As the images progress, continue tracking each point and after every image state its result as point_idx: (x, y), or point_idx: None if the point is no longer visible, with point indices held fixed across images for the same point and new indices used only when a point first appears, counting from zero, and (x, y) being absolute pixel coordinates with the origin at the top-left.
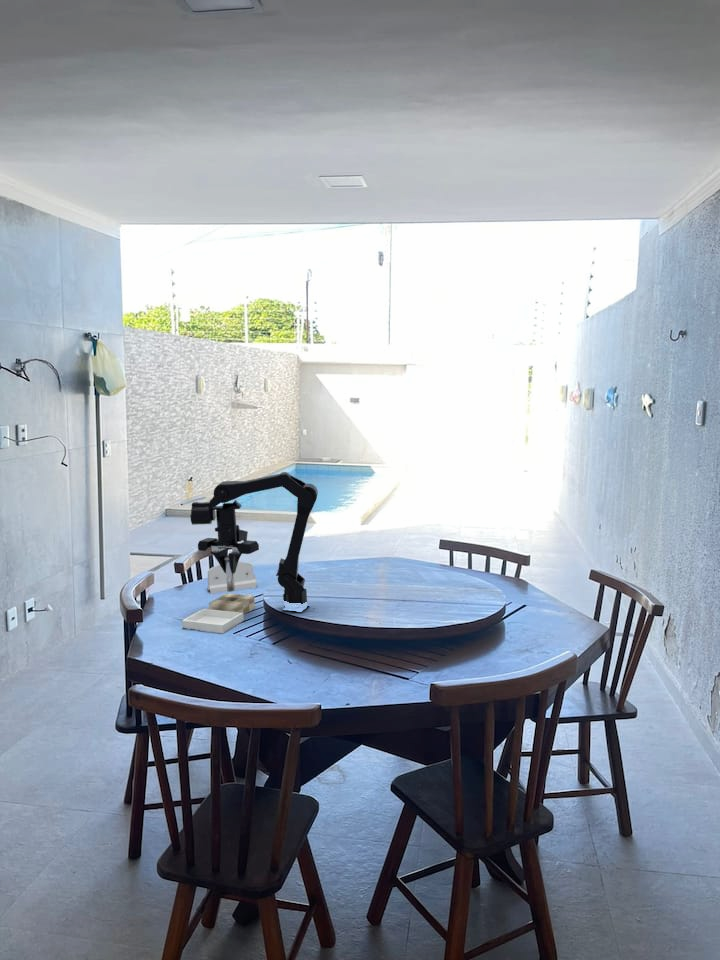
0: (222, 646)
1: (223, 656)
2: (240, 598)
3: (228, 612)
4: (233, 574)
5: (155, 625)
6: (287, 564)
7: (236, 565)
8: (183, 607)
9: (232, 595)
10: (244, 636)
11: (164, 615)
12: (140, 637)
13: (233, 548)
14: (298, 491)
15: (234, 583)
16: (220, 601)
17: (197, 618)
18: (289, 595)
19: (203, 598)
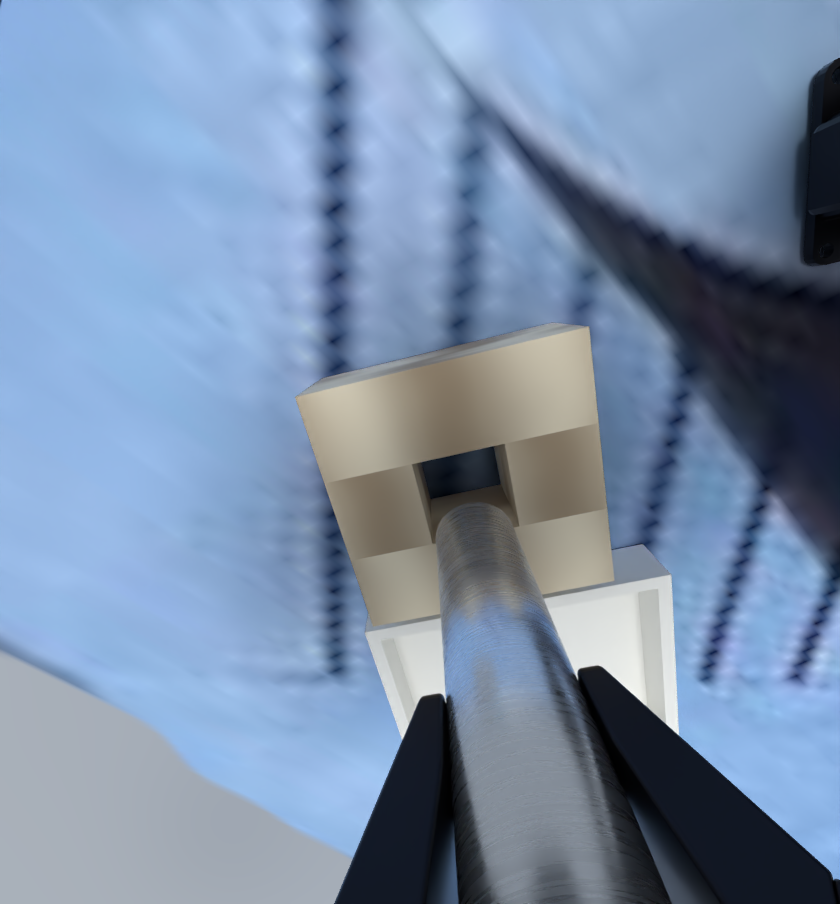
0: (746, 786)
1: (811, 836)
2: (519, 446)
3: (563, 603)
4: (568, 659)
5: (269, 767)
6: None
7: (740, 817)
8: (115, 550)
9: (393, 421)
10: (781, 683)
11: (166, 677)
12: (348, 856)
13: None
14: None
15: (521, 552)
16: (426, 572)
17: (401, 671)
18: None
19: (25, 353)
